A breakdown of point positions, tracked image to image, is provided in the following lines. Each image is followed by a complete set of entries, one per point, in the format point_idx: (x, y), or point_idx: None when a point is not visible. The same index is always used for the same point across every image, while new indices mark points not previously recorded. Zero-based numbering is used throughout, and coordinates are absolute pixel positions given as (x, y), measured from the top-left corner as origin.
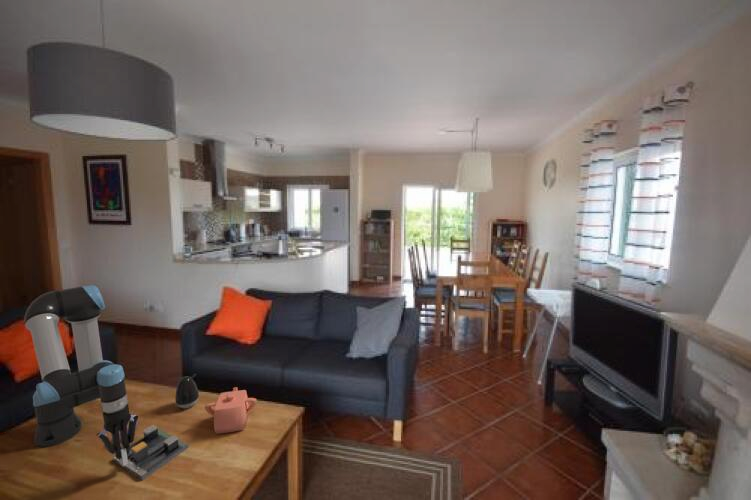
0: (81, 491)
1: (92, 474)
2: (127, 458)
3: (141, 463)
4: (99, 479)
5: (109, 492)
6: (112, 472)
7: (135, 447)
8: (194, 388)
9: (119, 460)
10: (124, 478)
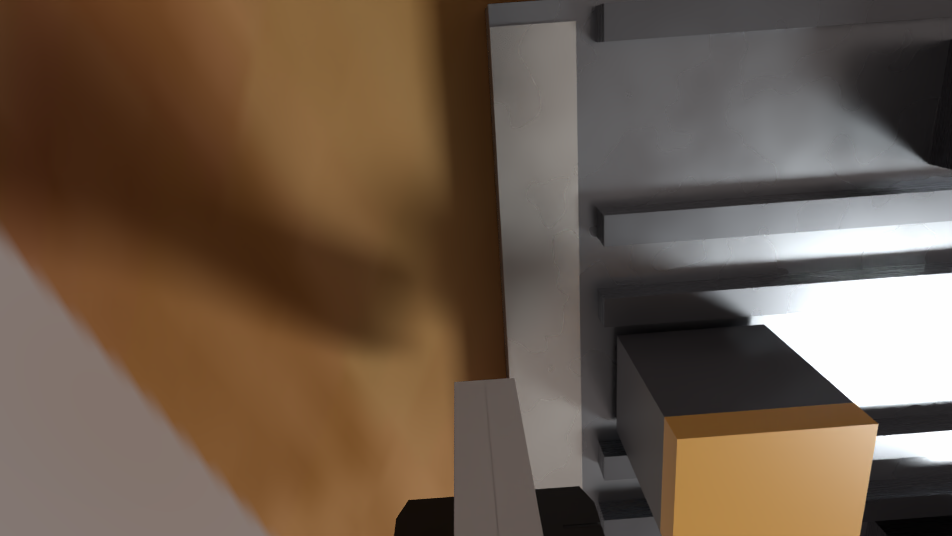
0: (53, 257)
1: (208, 46)
2: (590, 239)
3: (620, 522)
4: (247, 234)
5: (266, 515)
6: (388, 247)
7: (723, 475)
8: None
9: (454, 418)
10: (431, 455)
